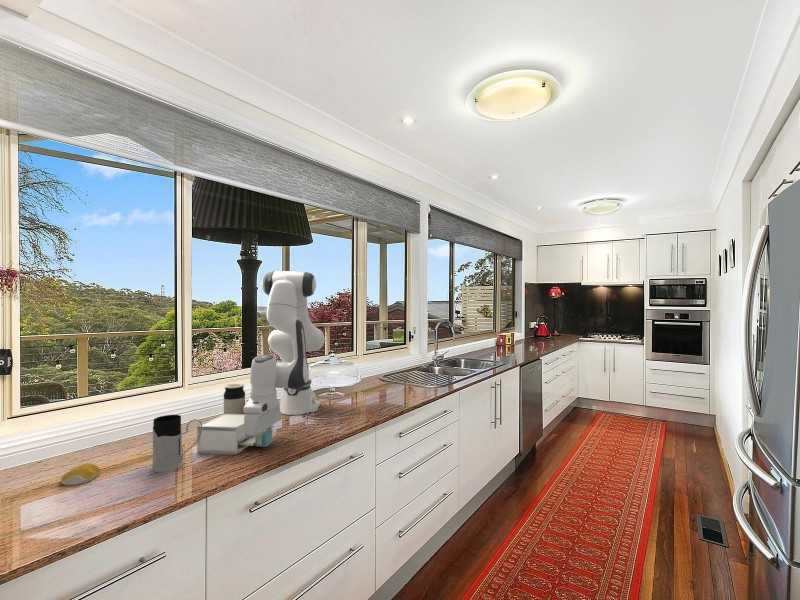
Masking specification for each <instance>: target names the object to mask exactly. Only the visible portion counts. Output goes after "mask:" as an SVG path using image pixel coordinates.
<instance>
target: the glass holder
mask: <svg viewBox="0 0 800 600" xmlns="http://www.w3.org/2000/svg"><path fill="white" fill-rule="evenodd" d="M193 421H194V422H195V421H197V422H199V424H200V425H201V431H200V435H199V437H198V439H196V440H195V442H194V443H193V444H192V445H191V446H189V447H188V448H187V449H186V450H185V451H183V449H182V448H183V447H182V446H183V445H182V443H183V442H182V440H183V439H182V438H183V437H182V435H186V434H187V433H188V431H189V425H190V423H192V422H193ZM152 422H153V425H152V466H151V468H150V470H151V471H152V472H155V473H156V472H157V473H159V472H168V471H173V470H176V469H178V467H179V468H181V467H182V466H183V465H184V461H183V458H184V457H183V456H184V455H185V454H186V453H188V451H189V450H190V449H192V448H193V446H195V445H197V441H198V440H199V438H200V436H201V432H202V424H203V423H202V421H201V420H200V419H198V418H197V419H196V418H194V419H190V420H189V421H188V423H187V425H186V431H185V432H182V415H180V414H166V415H161V416H157V417H155V418H154V419H153V421H152ZM182 452H183V453H182Z"/></svg>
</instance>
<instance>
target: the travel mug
mask: <svg viewBox="0 0 800 600" xmlns="http://www.w3.org/2000/svg"><path fill="white" fill-rule="evenodd" d="M223 386H224V389H225V391H224V393H223V414H245V413H244V412H243V407H244V406H245V405H246V392H245V389H244V388H245V384H244V383H230V384H226V385H223Z"/></svg>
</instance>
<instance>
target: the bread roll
mask: <svg viewBox="0 0 800 600" xmlns="http://www.w3.org/2000/svg"><path fill="white" fill-rule="evenodd" d="M100 473H101V469H100V467H99V466H98V465H96V464H93V463H84V464H80V465H78V466H75V467H73V468H71V469H70V470H69V471H68V472H65V473H64V474H63V475H62V477H61V481H60V482H61V484H62V485H64V486H77V485H83V484H85V483H88V482H91V481H93V480H94V479H95V478H97V477H98V476H99V475H100Z"/></svg>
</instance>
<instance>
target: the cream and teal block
mask: <svg viewBox="0 0 800 600" xmlns="http://www.w3.org/2000/svg"><path fill="white" fill-rule="evenodd" d="M261 436H262V438H263V443H262V444H261V445H257V443H256V438H255V437H250V436H249V437H248V438H246V439H245V440H243V441H241V442H240V443H238V445H247V446H248V447H249V446H251V447H253V446H254V445H255V447H263V448H264V447H265V448H266V447H268V446H270V445H271V444H272V443H273V431H266V430H264V431H263V432H262V435H261Z"/></svg>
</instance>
